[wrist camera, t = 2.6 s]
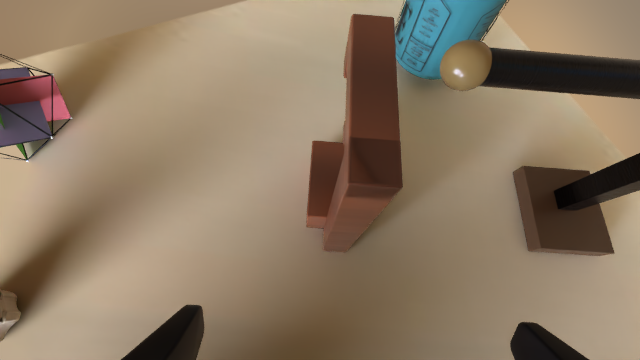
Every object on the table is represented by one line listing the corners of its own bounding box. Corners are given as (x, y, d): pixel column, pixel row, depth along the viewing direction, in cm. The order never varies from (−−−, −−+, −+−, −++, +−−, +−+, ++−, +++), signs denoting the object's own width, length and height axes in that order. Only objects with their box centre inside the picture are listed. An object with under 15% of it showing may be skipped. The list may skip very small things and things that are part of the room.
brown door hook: (364, 253, 20) (444, 191, 9) (304, 249, 20) (305, 180, 8) (364, 162, 23) (426, 18, 11) (311, 158, 23) (319, 9, 11)
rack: (598, 256, 21) (1066, 187, 8) (366, 240, 20) (471, 141, 8) (576, 176, 23) (913, 24, 10) (366, 161, 23) (447, -18, 10)
